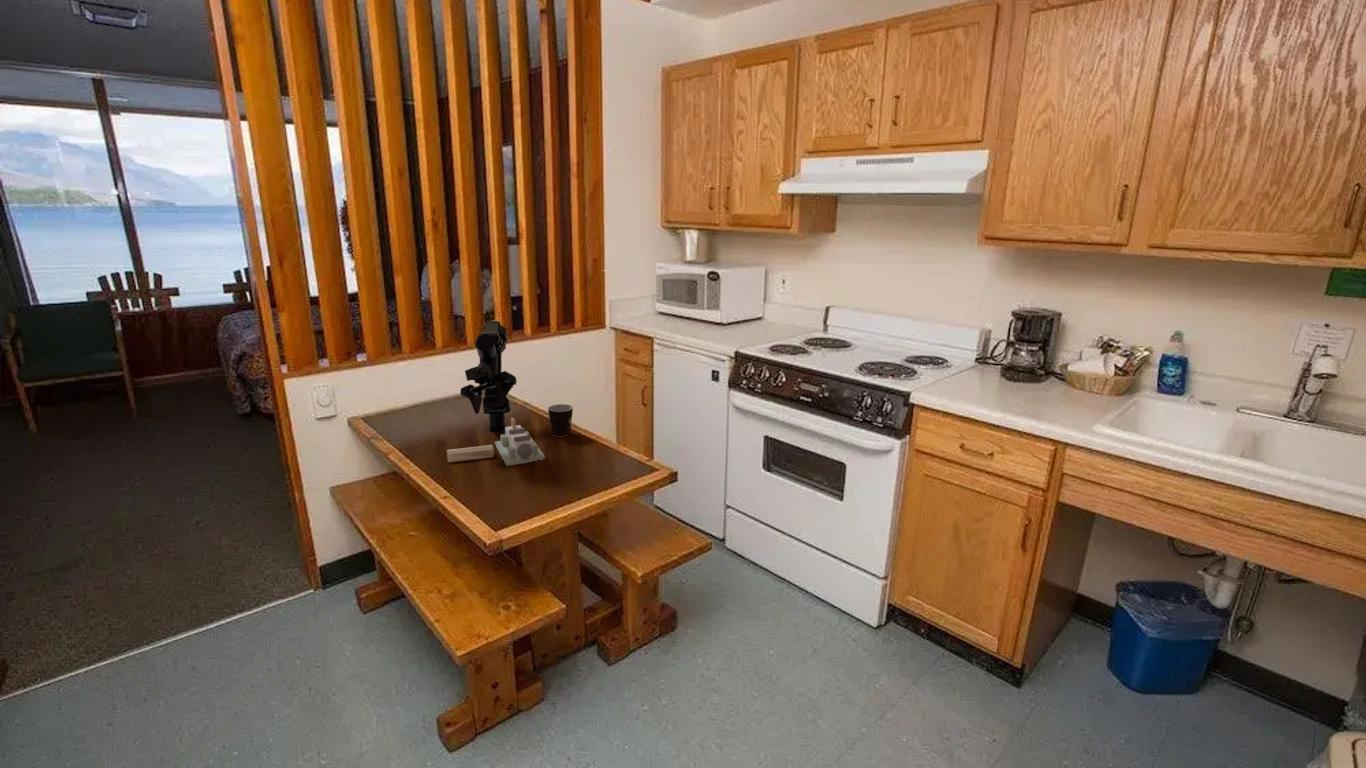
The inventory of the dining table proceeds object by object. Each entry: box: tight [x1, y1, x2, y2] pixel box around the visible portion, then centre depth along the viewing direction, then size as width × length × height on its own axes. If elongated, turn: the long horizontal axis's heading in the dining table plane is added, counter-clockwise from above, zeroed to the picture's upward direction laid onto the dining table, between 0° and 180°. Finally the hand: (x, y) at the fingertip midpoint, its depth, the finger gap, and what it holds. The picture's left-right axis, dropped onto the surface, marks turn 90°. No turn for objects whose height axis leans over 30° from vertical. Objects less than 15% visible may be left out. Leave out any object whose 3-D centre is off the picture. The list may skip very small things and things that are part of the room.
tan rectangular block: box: [446, 444, 495, 463], centre depth 195 cm, size 4×14×3 cm, turn 112°
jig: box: [494, 417, 546, 467], centre depth 199 cm, size 21×12×9 cm, turn 27°
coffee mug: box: [547, 403, 574, 436], centre depth 215 cm, size 12×9×10 cm
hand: (487, 409), depth 193 cm, fingers open, 9 cm apart
